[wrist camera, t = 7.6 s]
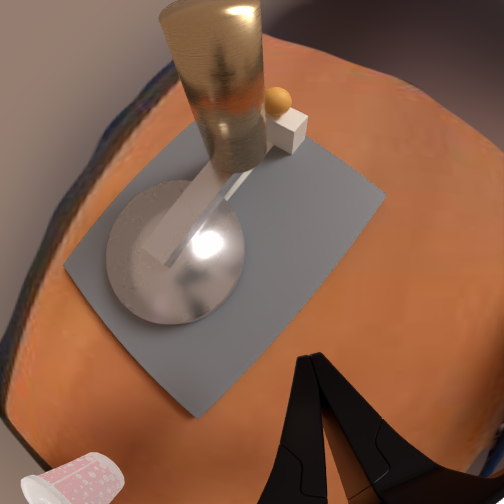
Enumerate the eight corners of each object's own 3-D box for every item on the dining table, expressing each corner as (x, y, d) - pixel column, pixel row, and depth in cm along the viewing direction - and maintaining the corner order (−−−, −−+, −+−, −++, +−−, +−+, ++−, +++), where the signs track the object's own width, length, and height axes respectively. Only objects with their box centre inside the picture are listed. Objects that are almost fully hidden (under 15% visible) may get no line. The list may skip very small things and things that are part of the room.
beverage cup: (78, 475, 16) (-9, 524, 2) (79, 434, 17) (-29, 477, 4) (129, 504, 15) (54, 578, 2) (134, 465, 16) (38, 545, 3)
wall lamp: (189, 353, 18) (37, 402, 4) (96, 269, 19) (-48, 209, 6) (311, 182, 20) (350, 16, 7) (208, 127, 22) (163, -14, 8)
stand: (201, 415, 18) (175, 448, 12) (69, 267, 21) (23, 250, 15) (382, 200, 21) (414, 161, 15) (230, 99, 24) (221, 51, 18)
